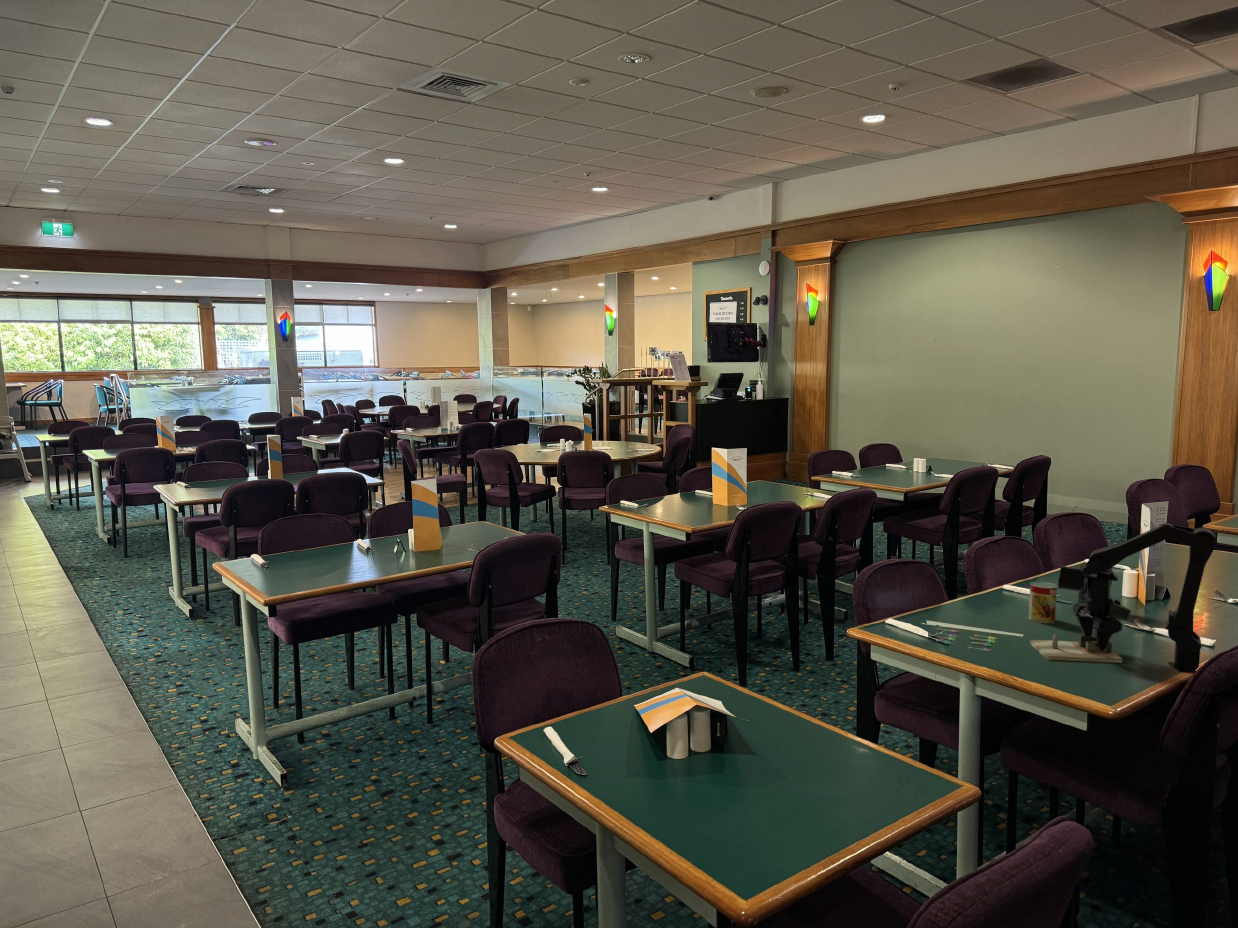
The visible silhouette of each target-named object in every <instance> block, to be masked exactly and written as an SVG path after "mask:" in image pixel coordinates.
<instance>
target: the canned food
mask: <svg viewBox="0 0 1238 928" xmlns="http://www.w3.org/2000/svg"><path fill="white" fill-rule="evenodd" d="M1029 587H1030V588H1029V603H1028V605H1029V606H1028V620H1030V621H1031V622H1035V623H1041V624H1053V623H1056V612H1057V611H1056V609H1057V607H1056V606H1057V593H1058V592H1057V589H1058V584H1057V585H1056V584H1055V583H1053V582H1047V581H1032V582H1030V584H1029Z"/></svg>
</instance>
